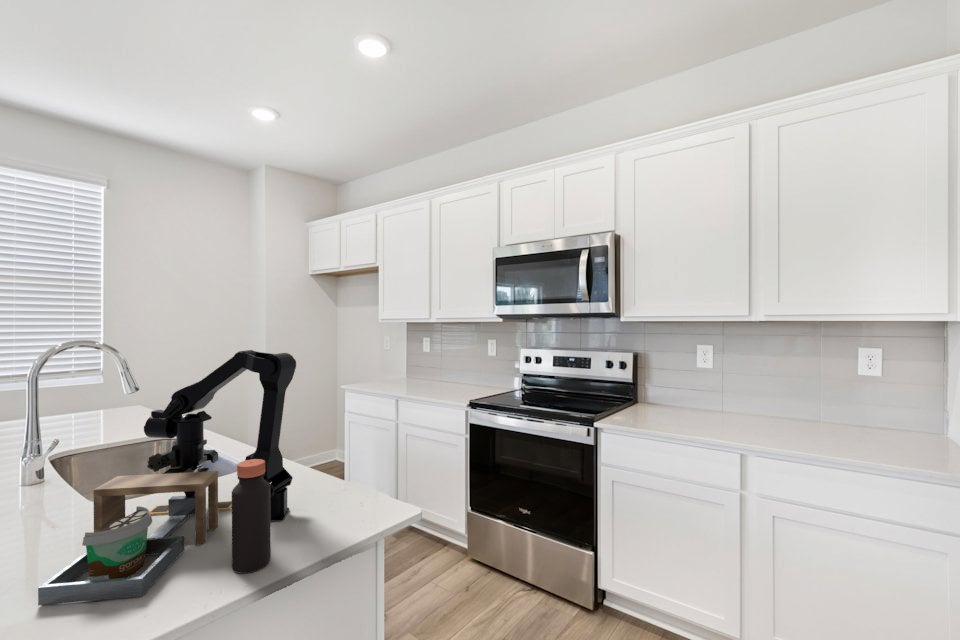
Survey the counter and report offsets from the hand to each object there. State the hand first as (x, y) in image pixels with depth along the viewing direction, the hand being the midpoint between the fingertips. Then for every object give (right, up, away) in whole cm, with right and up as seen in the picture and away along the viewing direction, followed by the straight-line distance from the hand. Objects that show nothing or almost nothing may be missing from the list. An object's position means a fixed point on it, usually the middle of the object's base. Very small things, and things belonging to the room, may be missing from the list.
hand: (190, 500), depth 114 cm
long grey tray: (+3, -2, -19) cm, 19 cm away
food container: (+5, -3, -27) cm, 28 cm away
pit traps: (0, -2, +1) cm, 3 cm away
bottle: (+27, -3, -24) cm, 37 cm away
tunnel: (+2, -3, -14) cm, 15 cm away
